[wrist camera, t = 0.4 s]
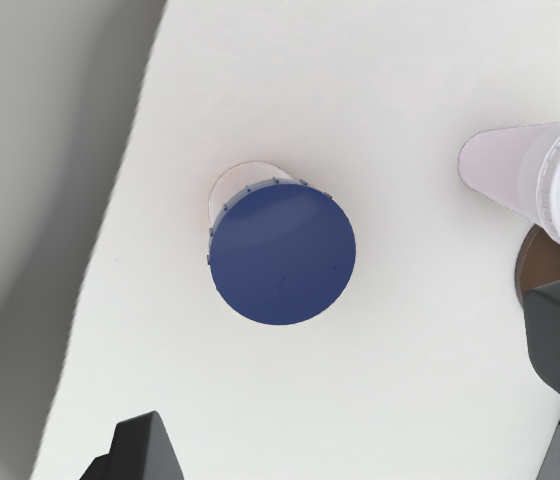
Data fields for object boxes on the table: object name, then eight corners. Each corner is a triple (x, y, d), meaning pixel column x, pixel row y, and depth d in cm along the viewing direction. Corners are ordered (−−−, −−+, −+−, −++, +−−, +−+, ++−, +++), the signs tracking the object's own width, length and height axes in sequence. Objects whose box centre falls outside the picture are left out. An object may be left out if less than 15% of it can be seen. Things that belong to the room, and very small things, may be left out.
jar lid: (250, 151, 19) (255, 154, 17) (370, 217, 20) (383, 225, 19) (182, 277, 20) (182, 290, 18) (303, 331, 21) (310, 347, 20)
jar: (235, 143, 27) (256, 162, 18) (316, 188, 28) (371, 225, 19) (192, 227, 27) (190, 283, 19) (272, 266, 29) (306, 335, 20)
